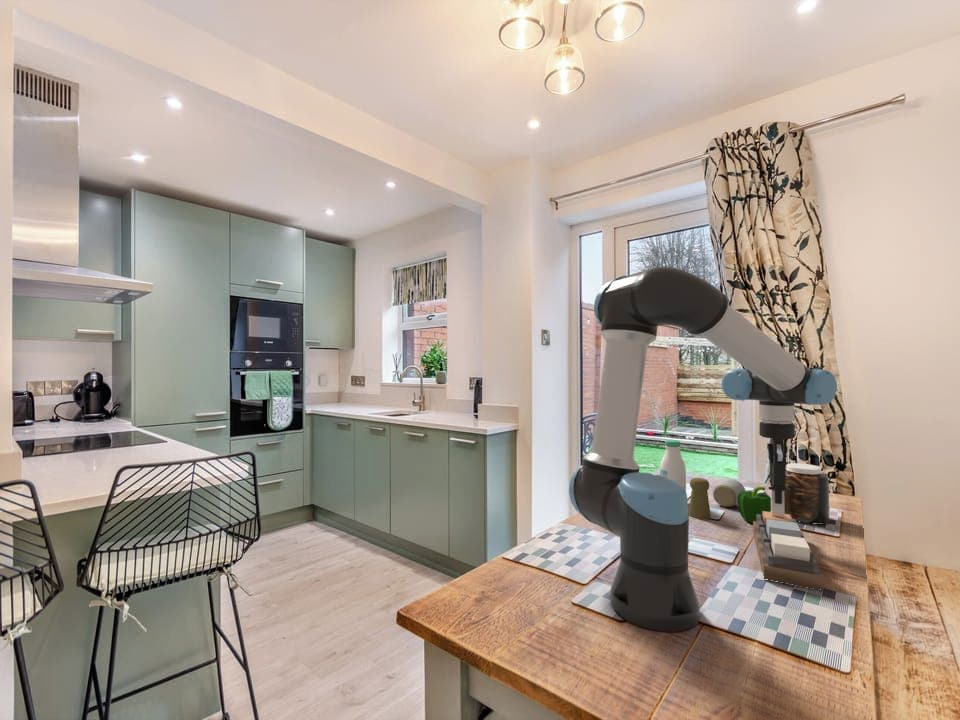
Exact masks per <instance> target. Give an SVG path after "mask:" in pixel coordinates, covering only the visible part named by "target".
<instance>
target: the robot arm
mask: <svg viewBox="0 0 960 720" xmlns="http://www.w3.org/2000/svg"><path fill="white" fill-rule="evenodd" d="M593 310H594V311H593V312H594V316H595V318H596V319H597V323H598V324H599V325H600V335H601V336H602V338H603V339H604V341H605V349H604V350H605V351H604V356H603V357H604V358H603V365H602V370H601V371H602V372H601V379H600V385H599V395H598V401H597V408H596V414H595V415H596V416H595V423H594V424H595V425H594V431H593V436H592V437H593V438H592V446H591V450H590V451H589V452H588V453H586V454H585V455H583V458H582V460H583V461H582V464H581V465H580V466H579V467H578V468H577V469H576V471H575V472H573V473H572V475H571V477H570V480H569V486H568V494H569V499H570V502H571V504H572V506H573V508H574V509H575V511H577V513H578V514H579V515H581V516H582V517H583V518H584V519H586V520H587V521H588V522H590V523H592V524H593V525H597V526H599V527H601V529H602V528H603V529H604V530H606V531H608V532H610V533H612V534H613V535H616V536H618V537H619V542H620V543H619V547H620V548H619V550H620V551H619V552H620V559H619V560H620V561H619V564H618V566H617V567H618V568H617V569H616V573H615V575H614V579H613V581H612V585H611V587H610V605H611V604H612V605H611V607H612V606H613V607H612V609H613V608H614V609H615V610H616V611H617V612H618V613H619V614H620V615H621V616H623V617H624V618H625V619H624V618H623V619H624V620H626V621H627V622H629V623H631V624H633V625H636V626H638V627H641V628H645V629H647V630H653V631H658V632H668V633H670V632H671V633H673V632H675V633H676V632H682V631H687V630H689V629H693V628H694V627H695V626H696V625H698V623H699V622H700V602H699V599H698V596H697V594H696V590H695V587H694V585H693V582H692V579H691V578H692V577H691V575H690V573H689V572H690V571H689V533H690V532H689V529H690V527H689V526H690V525H689V523H690V519H689V518H690V516H689V506H688V505H689V503H688V495H687V491H686V492H685V490H684V489H683V487H682V486H681V485H679V484H678V483H677V482H675V481H673V480H671V479H669V478H666V477H663V476H660V474H653V473H649V472H640V469H641V468H640V465H639V464H638V463H637V462H636V460H635V458H634V453H635V446H636V439H637V431H638V429H637V428H638V423H639V415H640V407H641V399H642V393H643V392H642V391H643V384H644V376H645V367H646V360H647V353H648V347H649V346H650V345H651V344H652V343H653V342H654V341H656V340H657V336H658V335H657V334H658V327H659V326H673V327H678V328H681V329H683V330H685V331H686V333H688V334H690V335H692V336H702V338H705V339H706V340H707V341H708V342H709V343H711V344H712V345H714V346H715V347H716V348H718V349H719V350H721V352H724V353H725V354H726V355H727V356H729V357H730V358H731V359H733V360H734V361H735V362H737V363H738V364H739V365H741V366H742V367H744V368H740V367H739V368H736V369H735V368H734V369H729V370H728V371H726V372H725V373H724V375H723V376H722V379H721V390H722V393H723V394H724V395H725V396H726V397H727V398H729V399H730V400H733V401H742V402H743V401H758V402H759V403H758V419H759V420H760V422H759V423H758V424H759V427H758V428H759V429H758V430H759V432H758V433H759V436H761V438H765V439H770V440H769V441H770V442H769V443H768V442H767V444H766V449H767V451H768V452H767V453H768V455H767V456H768V460H769V483H770V484H769V485H770V486H768V490H769V491H770V498H771V515H772V516H780V517H785V508H784V490H785V489H786V486H785V480H786V470H787V457H788V455H787V454H788V446H786V445H787V444H785V440H792V439H795V437H796V424H794V423H793V422H795V420H796V419H795V418H796V417H795V414H797V413H798V409H797V408H795V404H799V405H808V406H812V405H815V406H816V405H817V406H818V405H819V406H825V405H828V404H830V403H831V402H832V401H833V400H834V399H835V397H836V393H837V390H838V383H837V379H836V376H834V374H833V373H832V372H831V371H829V370H826V369H819V368H809V367H807V366H806V365H805V364H803V363H802V362H801V361H800V360H799V359H797V358H796V357H794V356H793V355H792V354H791V353H790V352H789V351H787V350H786V349H785V348H783V346H781V345H780V344H778V343H777V342H776V341H775V340H773V338H771V337H770V336H768V335H767V334H766V333H765V332H763V331H762V330H761V329H760V328H758V327H757V326H756V325H754V324H753V323H752V322H751V321H749V320H748V319H747V318H745V316H744V315H742V314H741V313H739V312H738V311H737V310H736V309H734V308H733V307H732V306H730V300H729V298H728V296H727V295H726V294H724V293H723V292H722V291H721V290H719V289H718V288H717V287H716V286H714V285H712V284H711V283H710V282H708V281H706V280H705V279H703V278H701V277H699V276H698V275H695V274H693V273H691V272H689V271H686V270H684V269H683V270H682V269H680V268H676V267H671V266H657V267H653V268H649V269H647V270H644V271H640V272H636V273H632V274H628V275H621V276H618V277H615V278H614V279H613V280H610V281H608V282H607V283H605V284H604V285H603V286H602V287H601V288H600V290H599V291H598V292H597V294H596V296H595V299H594V304H593ZM614 609H613V610H614ZM615 610H614V611H615ZM620 615H619V616H620ZM621 616H620V617H621Z"/></svg>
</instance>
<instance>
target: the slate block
mask: <svg viewBox="0 0 960 720" xmlns="http://www.w3.org/2000/svg"><path fill="white" fill-rule="evenodd" d="M797 524H798V522H797V523H794V522H786V521H778V520H771V519H766V531H767V535H768V538H770V539H771V533H772V534H779V535H786V536H792V537H799V538H801V533H802V530H801V528H800V526H799V524H798V525H797ZM798 526H799V527H798ZM799 528H800V529H799Z"/></svg>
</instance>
